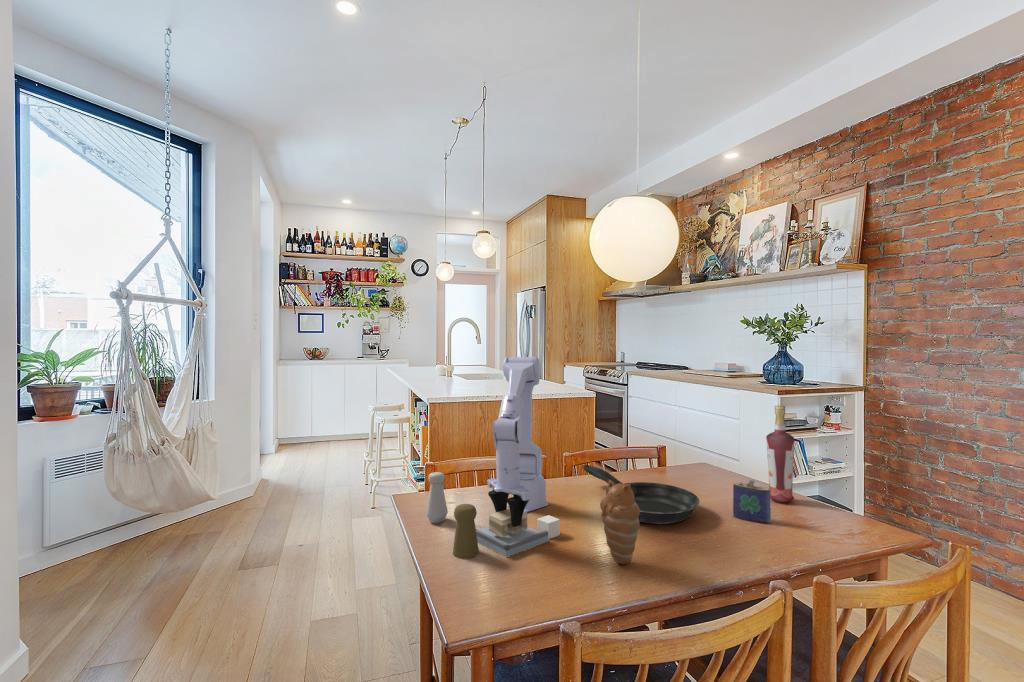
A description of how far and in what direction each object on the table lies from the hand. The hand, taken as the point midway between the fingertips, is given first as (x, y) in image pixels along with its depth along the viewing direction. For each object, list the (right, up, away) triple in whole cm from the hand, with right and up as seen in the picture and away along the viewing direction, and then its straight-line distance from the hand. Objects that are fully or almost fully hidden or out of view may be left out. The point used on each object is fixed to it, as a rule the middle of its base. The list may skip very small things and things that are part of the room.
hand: (508, 522), depth 122 cm
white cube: (+10, -4, +3) cm, 11 cm away
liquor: (+80, -3, +25) cm, 84 cm away
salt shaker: (-20, -5, +14) cm, 24 cm away
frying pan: (+36, -4, +23) cm, 43 cm away
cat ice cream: (+25, -4, -13) cm, 28 cm away
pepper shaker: (-10, -5, -7) cm, 13 cm away
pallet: (0, -2, 0) cm, 2 cm away
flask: (+65, -3, +11) cm, 66 cm away
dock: (0, -4, 0) cm, 4 cm away
